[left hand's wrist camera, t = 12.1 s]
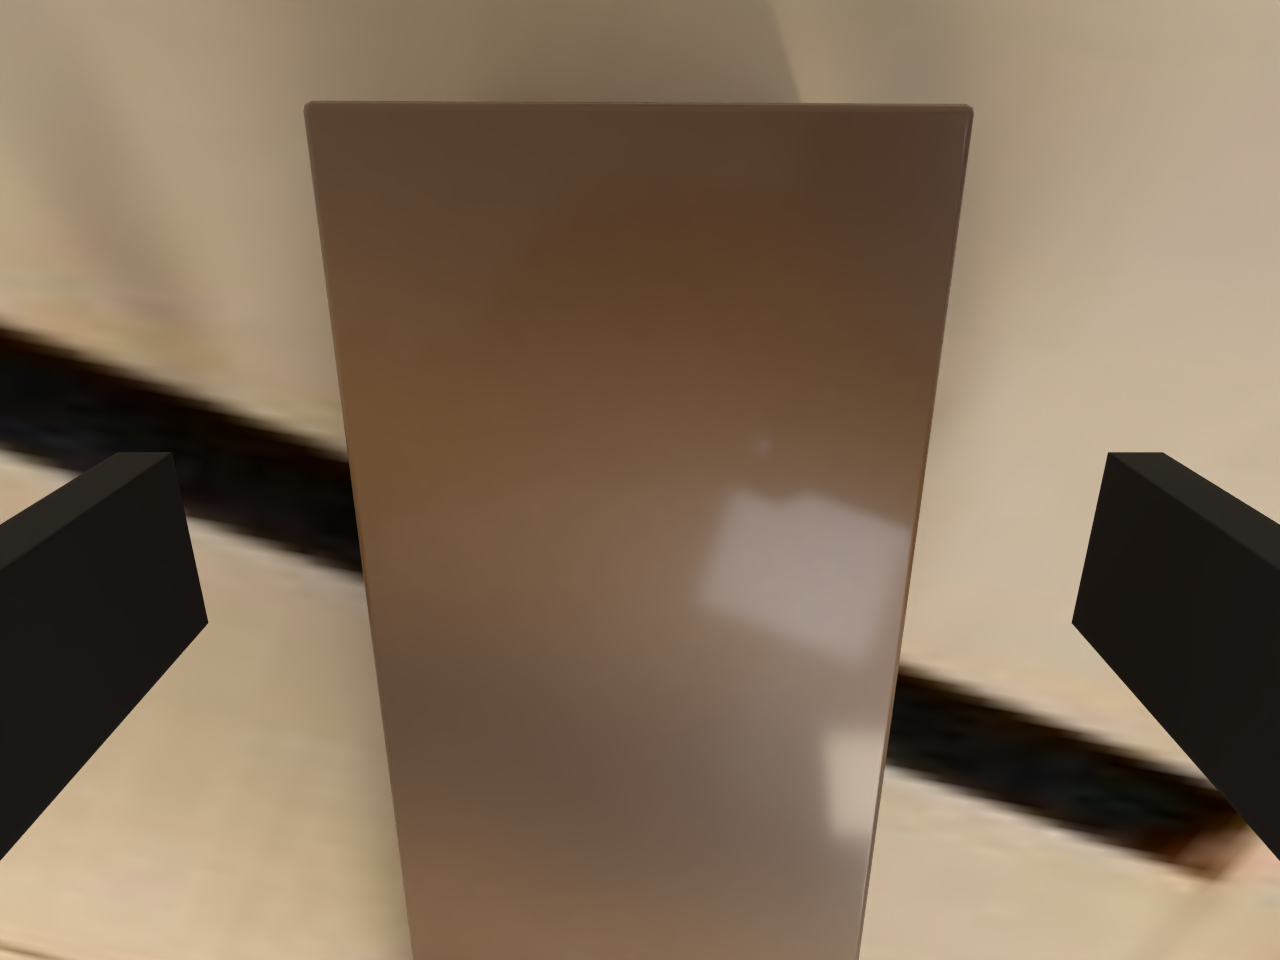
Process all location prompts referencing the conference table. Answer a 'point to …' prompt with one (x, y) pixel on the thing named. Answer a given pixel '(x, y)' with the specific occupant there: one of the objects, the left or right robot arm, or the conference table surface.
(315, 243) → the conference table surface
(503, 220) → the beam
